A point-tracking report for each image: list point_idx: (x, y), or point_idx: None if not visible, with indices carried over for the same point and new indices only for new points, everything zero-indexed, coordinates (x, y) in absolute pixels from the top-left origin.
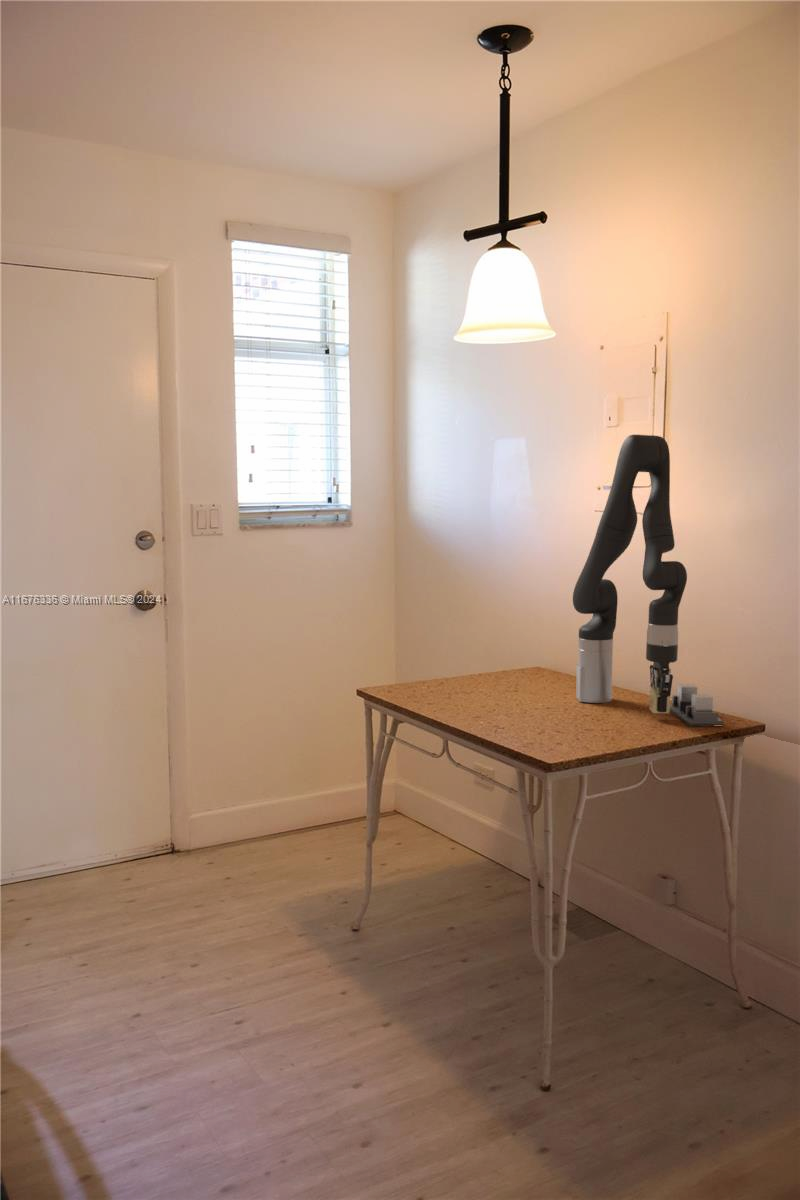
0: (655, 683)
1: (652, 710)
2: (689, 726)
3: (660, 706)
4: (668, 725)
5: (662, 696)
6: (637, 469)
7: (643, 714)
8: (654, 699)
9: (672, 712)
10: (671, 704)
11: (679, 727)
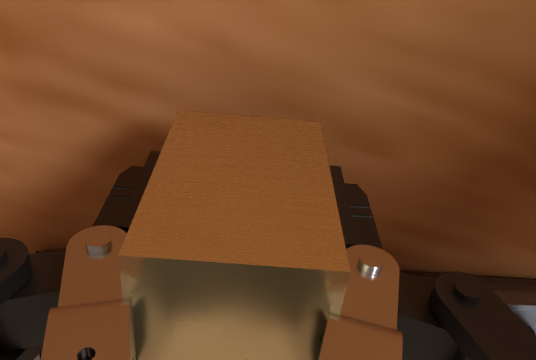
0: (107, 339)
1: (207, 120)
2: (36, 252)
3: (113, 187)
4: (89, 154)
5: (40, 263)
6: None
7: (463, 93)
8: (152, 183)
9: (431, 274)
10: (517, 314)
11: (38, 199)
